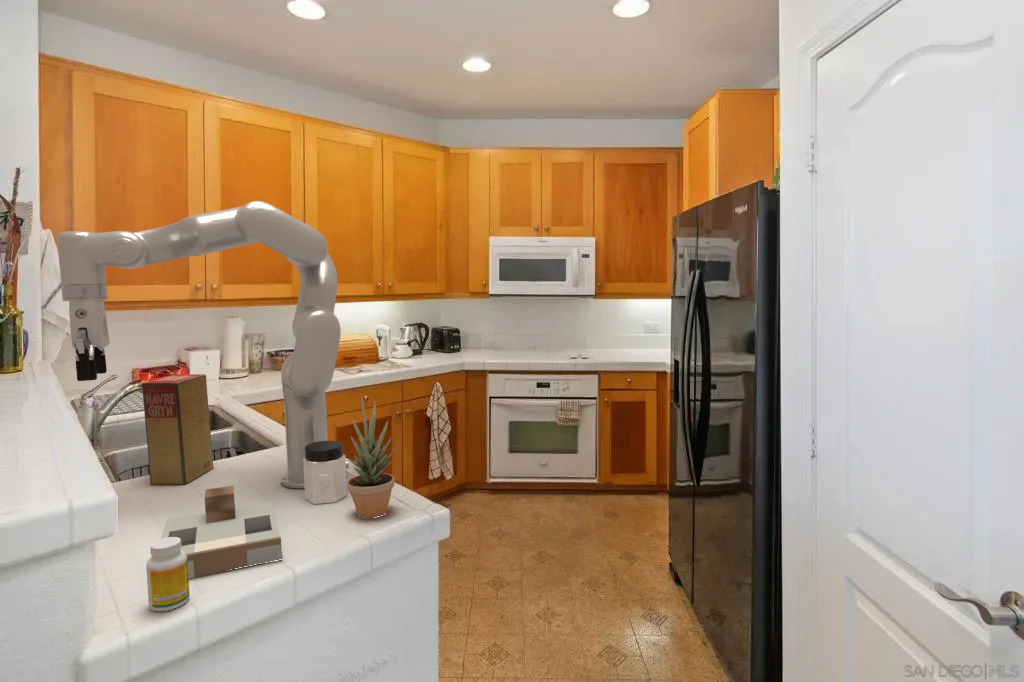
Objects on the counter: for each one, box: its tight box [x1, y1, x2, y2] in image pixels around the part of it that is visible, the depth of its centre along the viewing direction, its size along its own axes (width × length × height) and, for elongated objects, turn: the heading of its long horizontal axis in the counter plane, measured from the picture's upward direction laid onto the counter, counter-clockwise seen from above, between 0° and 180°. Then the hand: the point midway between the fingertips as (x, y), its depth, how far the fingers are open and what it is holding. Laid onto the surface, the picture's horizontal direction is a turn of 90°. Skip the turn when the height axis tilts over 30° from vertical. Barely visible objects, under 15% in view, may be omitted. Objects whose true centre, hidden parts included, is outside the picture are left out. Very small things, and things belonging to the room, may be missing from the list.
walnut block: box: [204, 485, 236, 523], centre depth 116 cm, size 5×5×5 cm
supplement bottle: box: [145, 537, 191, 612], centre depth 90 cm, size 5×5×10 cm
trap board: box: [161, 501, 283, 580], centre depth 109 cm, size 19×22×4 cm
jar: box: [303, 440, 348, 505], centre depth 133 cm, size 9×8×12 cm
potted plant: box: [346, 396, 397, 519], centre depth 123 cm, size 10×10×25 cm
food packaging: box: [141, 373, 215, 486], centre depth 149 cm, size 13×9×25 cm
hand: (92, 376), depth 123 cm, fingers open, 9 cm apart
